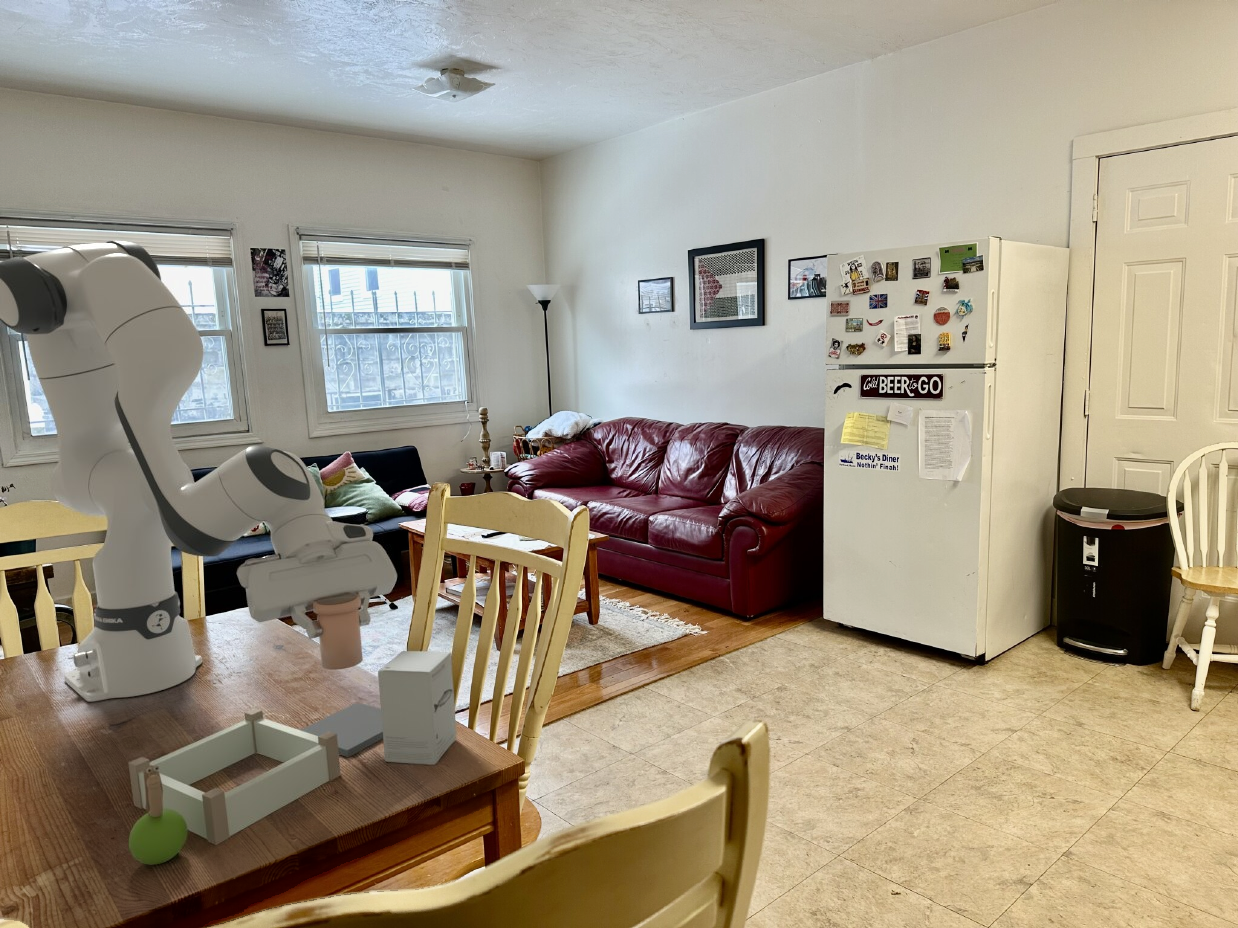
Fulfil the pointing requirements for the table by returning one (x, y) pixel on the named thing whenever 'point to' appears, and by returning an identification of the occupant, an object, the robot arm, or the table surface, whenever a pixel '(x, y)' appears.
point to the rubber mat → (351, 727)
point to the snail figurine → (156, 825)
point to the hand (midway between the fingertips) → (341, 629)
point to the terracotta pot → (339, 630)
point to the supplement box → (417, 707)
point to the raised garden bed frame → (256, 798)
